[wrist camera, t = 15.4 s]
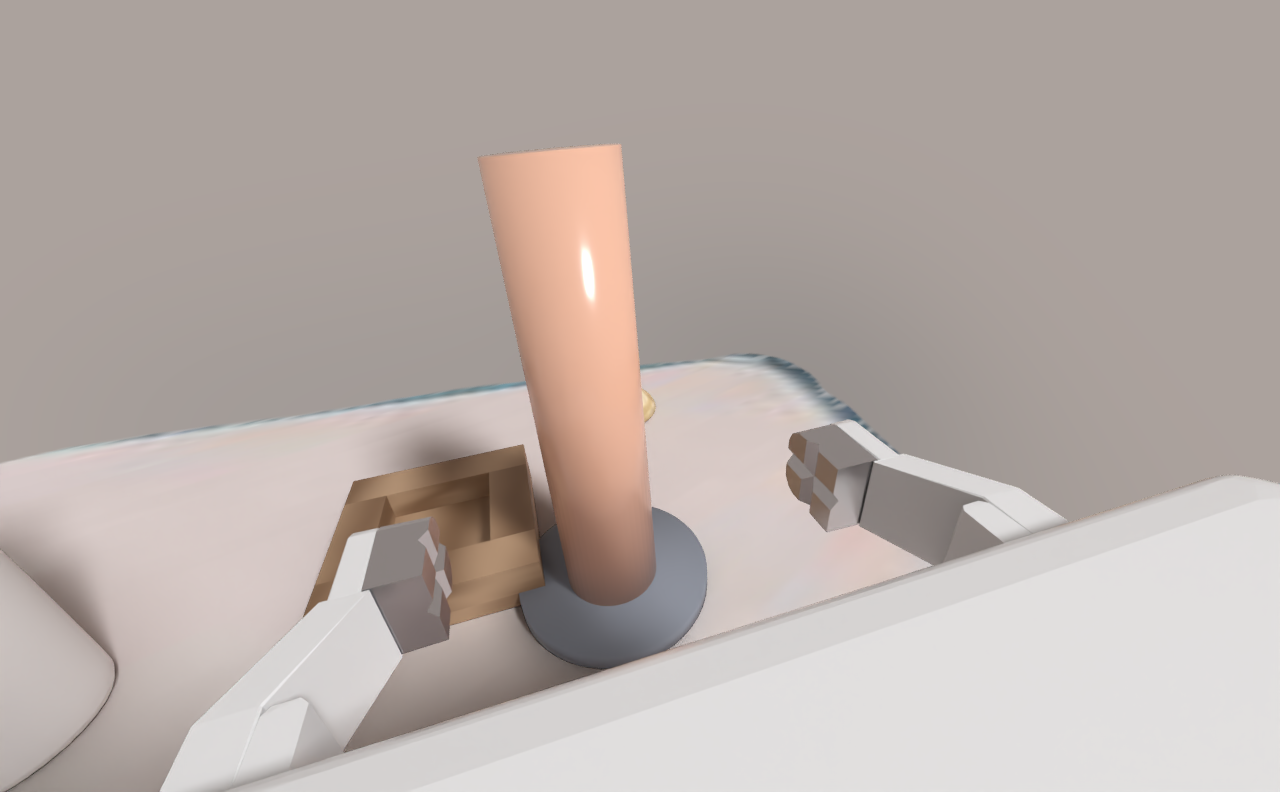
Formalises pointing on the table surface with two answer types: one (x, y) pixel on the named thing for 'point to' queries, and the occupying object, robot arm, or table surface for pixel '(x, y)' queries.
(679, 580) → the disc
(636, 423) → the tall peach cylinder
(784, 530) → the table surface
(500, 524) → the pocket block
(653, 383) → the table surface
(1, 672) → the milk bottle
